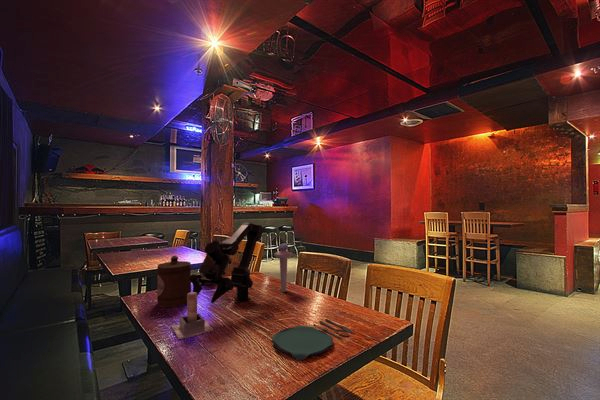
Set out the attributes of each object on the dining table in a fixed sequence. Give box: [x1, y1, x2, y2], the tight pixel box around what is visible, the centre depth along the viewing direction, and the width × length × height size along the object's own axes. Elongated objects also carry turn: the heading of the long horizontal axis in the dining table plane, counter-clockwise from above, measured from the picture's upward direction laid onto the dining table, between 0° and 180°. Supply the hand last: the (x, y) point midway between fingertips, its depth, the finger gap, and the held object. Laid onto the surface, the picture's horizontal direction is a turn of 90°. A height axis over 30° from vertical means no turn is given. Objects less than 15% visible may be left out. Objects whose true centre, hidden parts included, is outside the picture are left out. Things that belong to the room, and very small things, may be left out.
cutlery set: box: [271, 318, 356, 361], centre depth 100 cm, size 20×30×2 cm, turn 130°
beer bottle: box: [202, 242, 216, 287], centre depth 166 cm, size 8×8×24 cm
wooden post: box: [186, 291, 198, 323], centre depth 108 cm, size 4×4×12 cm
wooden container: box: [156, 255, 192, 308], centre depth 137 cm, size 15×15×22 cm
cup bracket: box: [171, 313, 214, 340], centre depth 108 cm, size 12×12×4 cm
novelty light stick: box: [273, 243, 294, 293], centre depth 153 cm, size 10×10×25 cm
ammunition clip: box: [230, 258, 241, 276], centre depth 176 cm, size 11×2×12 cm, turn 47°
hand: (201, 301), depth 113 cm, fingers open, 9 cm apart
